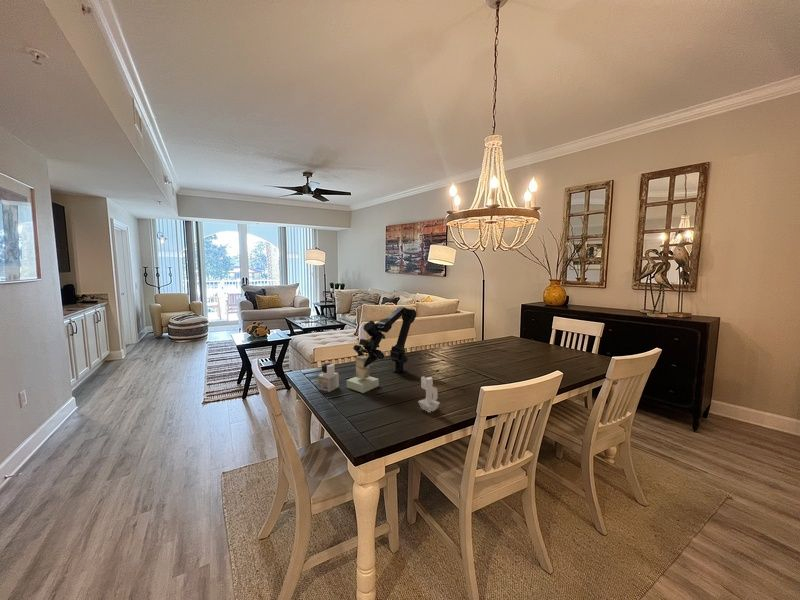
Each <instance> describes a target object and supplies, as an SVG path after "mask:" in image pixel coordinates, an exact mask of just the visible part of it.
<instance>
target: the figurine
mask: <svg viewBox="0 0 800 600" xmlns="http://www.w3.org/2000/svg"><path fill="white" fill-rule="evenodd" d="M433 381H434V380H433V377H432V376H429V377H426V376H421V378H420V383H421V384H420V386H421V389H423V390H425V398H423V399H420V400H418V401H417V403H418V405H419V406H420V408H421V410H422V409H423V410H422V411H424V410H425V411H424V412H426V411H427V412H426V413H429V414H430V413H432V412H434V411H436V410H437V409H438V407H439V405H441V402H440V401H439V400H438V394H439V393H438V388H437V387H435V386H433V385H434V382H433ZM437 400H438V401H437ZM431 411H432V412H431Z"/></svg>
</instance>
